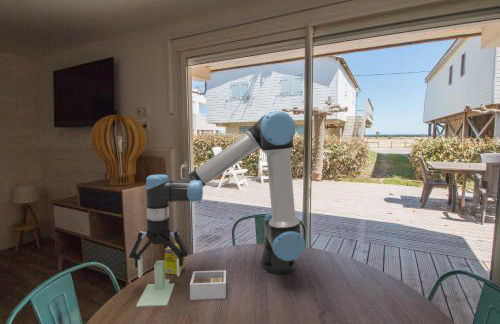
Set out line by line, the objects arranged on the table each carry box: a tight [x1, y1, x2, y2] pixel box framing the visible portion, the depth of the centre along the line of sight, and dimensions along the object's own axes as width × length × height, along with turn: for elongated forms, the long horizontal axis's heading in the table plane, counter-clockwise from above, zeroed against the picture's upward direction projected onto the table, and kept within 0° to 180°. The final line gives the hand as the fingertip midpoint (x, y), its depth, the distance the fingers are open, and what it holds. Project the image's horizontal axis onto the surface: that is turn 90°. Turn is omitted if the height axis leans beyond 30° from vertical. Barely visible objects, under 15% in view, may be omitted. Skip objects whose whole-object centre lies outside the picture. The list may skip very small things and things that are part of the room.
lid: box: [135, 259, 176, 309], centre depth 96 cm, size 16×10×10 cm, turn 4°
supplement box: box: [164, 243, 185, 276], centre depth 111 cm, size 6×6×11 cm
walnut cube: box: [196, 278, 208, 283], centre depth 96 cm, size 4×4×4 cm
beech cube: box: [210, 278, 222, 283], centre depth 97 cm, size 4×4×4 cm
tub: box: [189, 269, 227, 301], centre depth 96 cm, size 12×9×6 cm
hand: (159, 275), depth 99 cm, fingers open, 13 cm apart
